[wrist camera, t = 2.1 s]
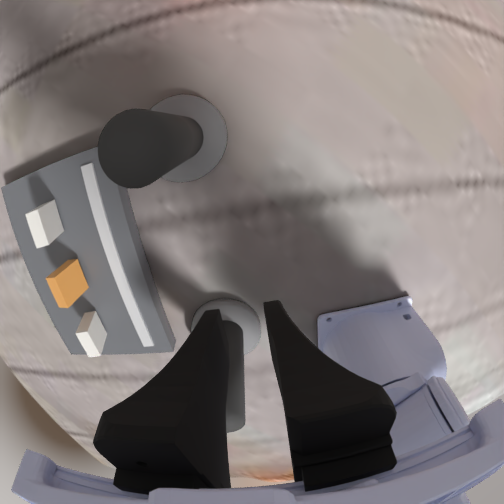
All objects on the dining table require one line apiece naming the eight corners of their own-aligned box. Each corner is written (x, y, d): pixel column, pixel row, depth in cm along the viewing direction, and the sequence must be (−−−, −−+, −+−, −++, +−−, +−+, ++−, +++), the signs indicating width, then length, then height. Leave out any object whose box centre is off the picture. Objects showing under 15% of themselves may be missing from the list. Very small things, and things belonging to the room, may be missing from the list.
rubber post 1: (219, 88, 17) (199, 52, 8) (233, 171, 20) (227, 211, 11) (136, 108, 17) (56, 100, 8) (152, 187, 20) (88, 238, 11)
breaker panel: (116, 141, 18) (106, 143, 17) (175, 340, 26) (172, 353, 24) (11, 183, 19) (-1, 188, 17) (76, 345, 26) (70, 355, 24)
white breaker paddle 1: (54, 199, 18) (37, 209, 15) (64, 231, 19) (49, 244, 16) (43, 203, 18) (25, 214, 15) (52, 234, 19) (36, 248, 16)
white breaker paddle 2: (95, 310, 22) (87, 331, 19) (107, 334, 23) (100, 355, 20) (84, 312, 22) (75, 333, 19) (96, 335, 23) (89, 357, 20)
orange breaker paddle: (77, 258, 20) (54, 277, 17) (88, 287, 21) (68, 308, 18) (68, 259, 20) (45, 278, 17) (79, 287, 21) (59, 307, 18)
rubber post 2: (255, 293, 24) (263, 389, 15) (264, 346, 26) (273, 438, 17) (184, 303, 24) (160, 396, 15) (201, 354, 26) (190, 443, 17)
